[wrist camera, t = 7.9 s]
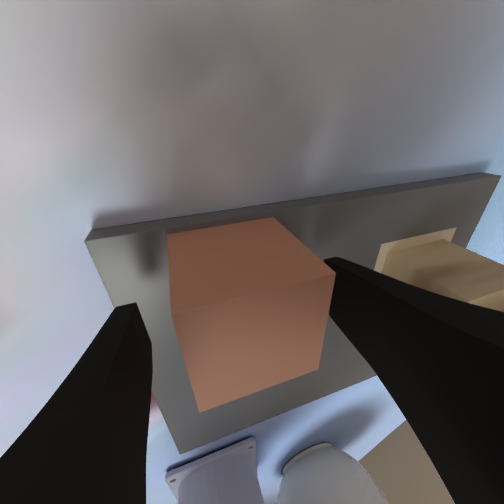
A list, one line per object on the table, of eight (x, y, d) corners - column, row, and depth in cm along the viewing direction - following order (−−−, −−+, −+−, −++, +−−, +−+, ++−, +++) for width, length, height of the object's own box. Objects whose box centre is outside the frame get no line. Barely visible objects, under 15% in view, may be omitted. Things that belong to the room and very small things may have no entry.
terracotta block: (272, 295, 13) (318, 369, 9) (186, 317, 11) (199, 412, 8) (273, 216, 10) (335, 272, 7) (166, 234, 9) (170, 314, 5)
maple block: (420, 292, 17) (490, 340, 14) (370, 308, 16) (432, 364, 13) (443, 238, 15) (534, 278, 11) (387, 252, 14) (469, 301, 10)
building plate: (400, 354, 24) (408, 362, 23) (179, 439, 18) (180, 454, 17) (482, 172, 15) (502, 176, 14) (91, 230, 9) (84, 241, 8)
